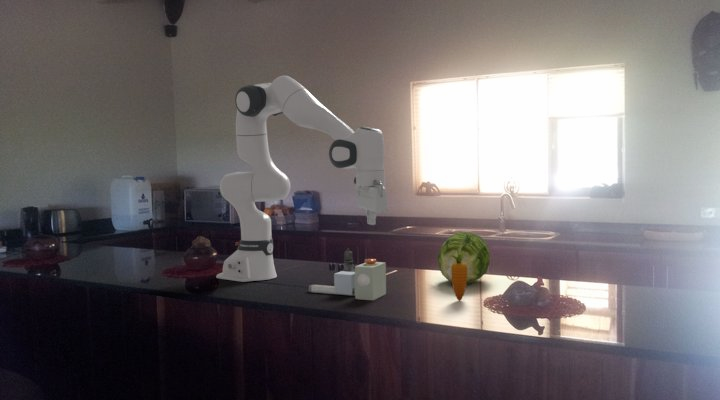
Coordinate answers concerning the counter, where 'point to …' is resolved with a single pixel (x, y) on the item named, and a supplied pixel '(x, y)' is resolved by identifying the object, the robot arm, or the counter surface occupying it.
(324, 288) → the rail
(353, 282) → the block
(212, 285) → the counter surface
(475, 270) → the lettuce
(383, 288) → the block with square hole
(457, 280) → the carrot
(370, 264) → the copper knob
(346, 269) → the stone chess piece
